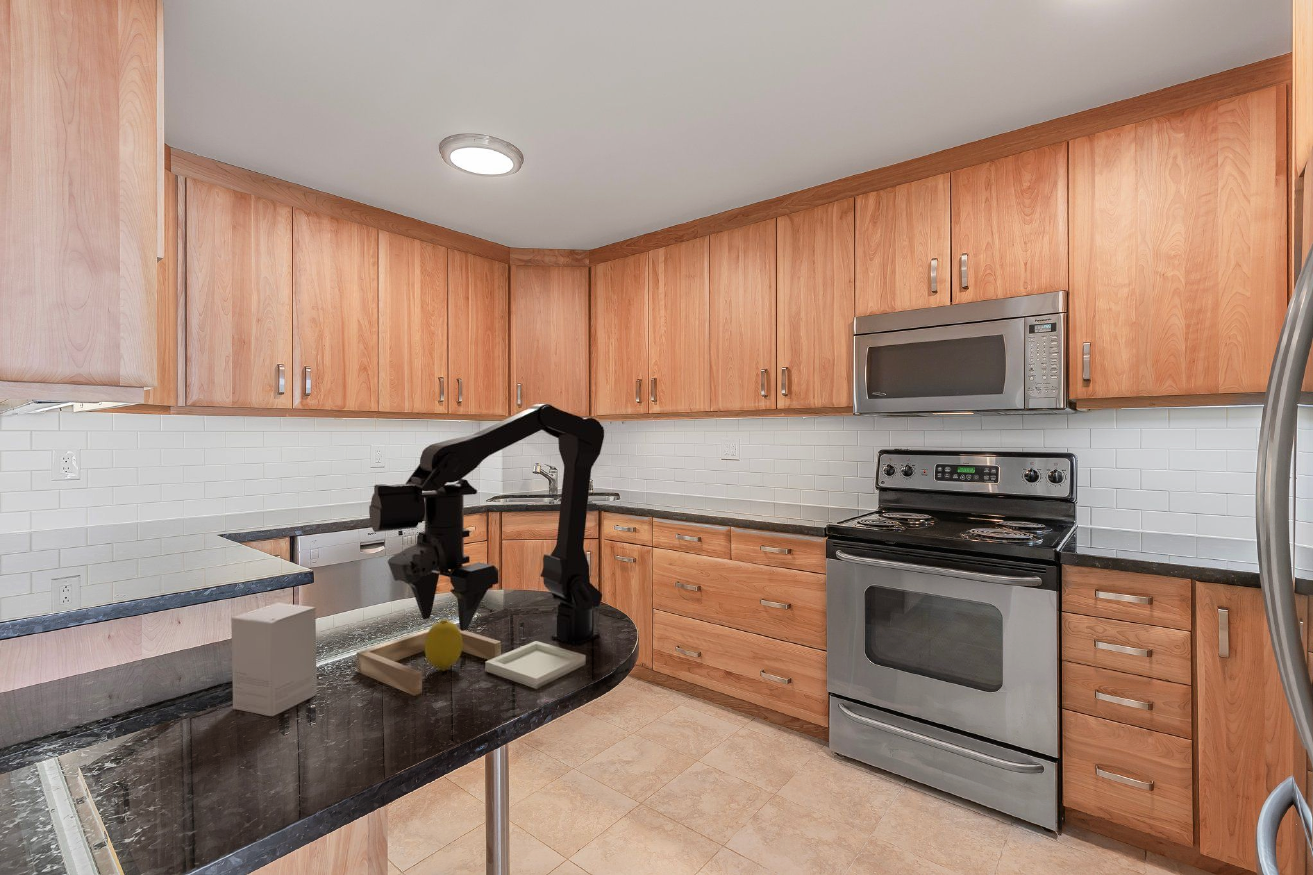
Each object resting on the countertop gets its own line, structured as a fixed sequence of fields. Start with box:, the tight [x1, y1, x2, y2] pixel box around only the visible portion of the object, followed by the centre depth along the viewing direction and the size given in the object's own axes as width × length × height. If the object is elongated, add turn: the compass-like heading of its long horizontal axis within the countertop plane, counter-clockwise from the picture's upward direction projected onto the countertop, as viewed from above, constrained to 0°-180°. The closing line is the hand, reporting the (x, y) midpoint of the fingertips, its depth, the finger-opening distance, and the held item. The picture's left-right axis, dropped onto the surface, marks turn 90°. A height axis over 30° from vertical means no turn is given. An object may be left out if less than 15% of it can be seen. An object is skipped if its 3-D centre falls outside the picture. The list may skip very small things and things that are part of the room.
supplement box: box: [230, 602, 318, 717], centre depth 85 cm, size 7×7×13 cm
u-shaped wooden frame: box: [356, 627, 502, 697], centre depth 98 cm, size 16×15×3 cm
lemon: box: [424, 619, 463, 672], centre depth 96 cm, size 6×6×8 cm
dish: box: [484, 640, 586, 690], centre depth 98 cm, size 11×11×2 cm
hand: (444, 624), depth 96 cm, fingers open, 9 cm apart
